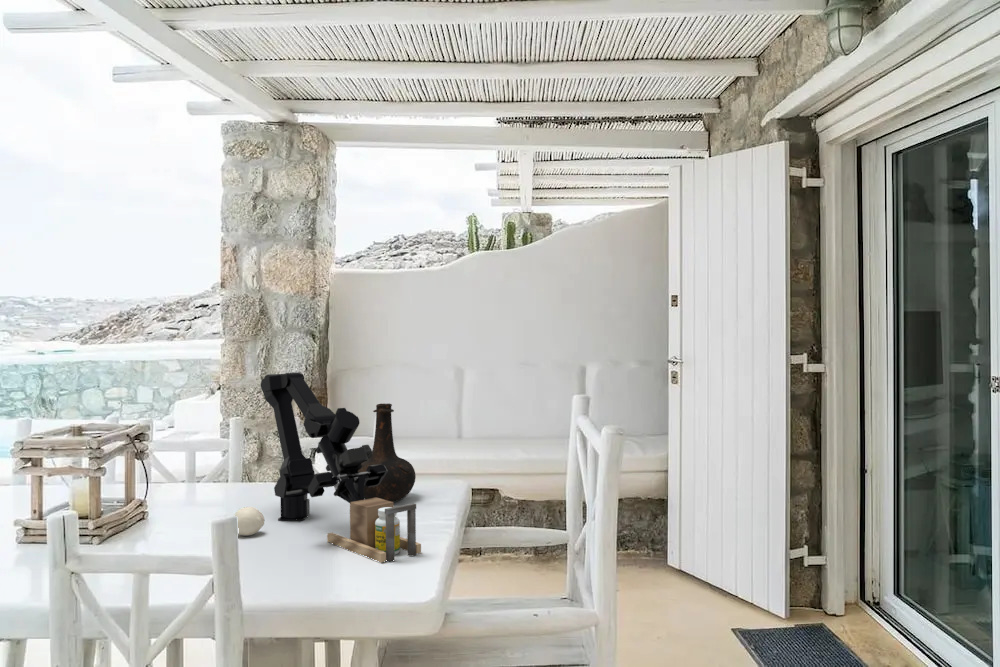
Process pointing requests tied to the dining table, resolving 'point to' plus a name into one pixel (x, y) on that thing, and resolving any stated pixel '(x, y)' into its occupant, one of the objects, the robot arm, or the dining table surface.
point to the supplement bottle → (381, 531)
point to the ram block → (365, 519)
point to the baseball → (249, 520)
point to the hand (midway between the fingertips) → (362, 509)
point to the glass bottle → (388, 461)
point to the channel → (389, 555)
